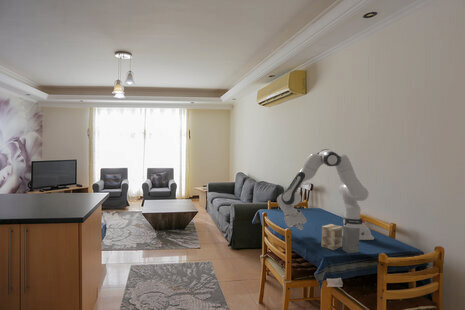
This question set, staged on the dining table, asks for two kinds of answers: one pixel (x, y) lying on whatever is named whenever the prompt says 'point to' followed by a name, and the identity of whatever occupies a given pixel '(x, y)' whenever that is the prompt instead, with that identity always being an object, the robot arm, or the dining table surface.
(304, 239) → the dining table surface
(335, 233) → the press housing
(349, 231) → the skincare box
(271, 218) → the dining table surface
